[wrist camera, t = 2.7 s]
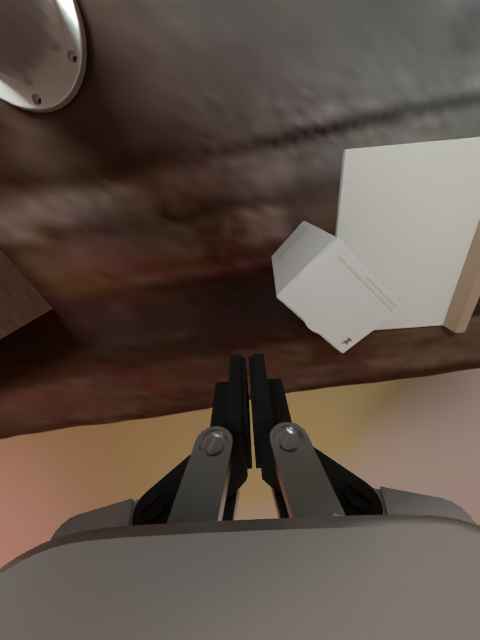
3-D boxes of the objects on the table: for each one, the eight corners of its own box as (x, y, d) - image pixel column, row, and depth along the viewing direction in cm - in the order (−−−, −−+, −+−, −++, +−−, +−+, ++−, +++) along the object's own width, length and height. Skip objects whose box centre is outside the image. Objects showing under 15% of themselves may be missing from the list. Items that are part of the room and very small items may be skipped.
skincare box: (345, 261, 32) (413, 307, 18) (308, 295, 35) (343, 359, 21) (302, 217, 30) (343, 232, 16) (266, 257, 32) (274, 300, 19)
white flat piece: (343, 150, 27) (355, 144, 24) (516, 134, 27) (548, 127, 24) (325, 331, 38) (332, 341, 35) (448, 322, 37) (464, 332, 35)
